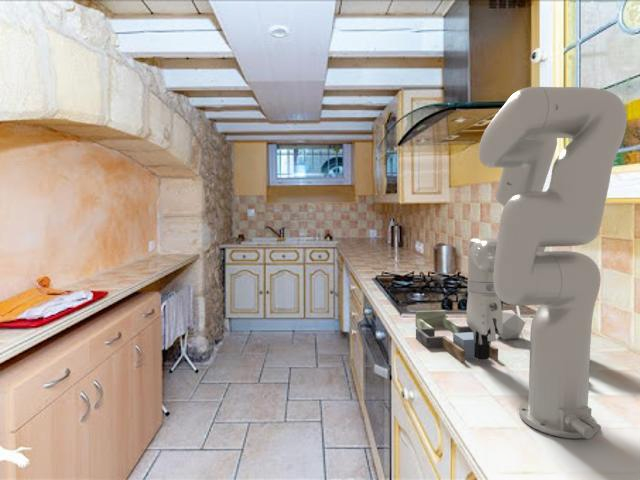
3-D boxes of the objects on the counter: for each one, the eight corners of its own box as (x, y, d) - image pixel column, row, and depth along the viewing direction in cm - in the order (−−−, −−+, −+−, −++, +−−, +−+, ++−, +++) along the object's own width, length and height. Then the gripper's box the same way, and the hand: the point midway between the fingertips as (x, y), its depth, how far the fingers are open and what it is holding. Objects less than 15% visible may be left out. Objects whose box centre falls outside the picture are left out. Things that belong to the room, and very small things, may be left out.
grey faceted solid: (511, 334, 132) (491, 308, 133) (535, 326, 125) (514, 299, 126) (500, 349, 126) (480, 322, 127) (525, 342, 119) (503, 314, 120)
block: (484, 357, 111) (485, 338, 110) (463, 358, 110) (463, 340, 109) (473, 349, 117) (473, 332, 116) (453, 350, 116) (453, 333, 115)
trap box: (514, 359, 108) (514, 340, 108) (444, 363, 106) (444, 344, 106) (456, 324, 141) (457, 309, 141) (402, 326, 139) (402, 311, 138)
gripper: (514, 292, 98) (512, 368, 99) (482, 281, 112) (480, 347, 114) (484, 294, 97) (482, 370, 98) (455, 282, 112) (454, 349, 113)
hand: (481, 358), depth 106 cm, fingers closed
